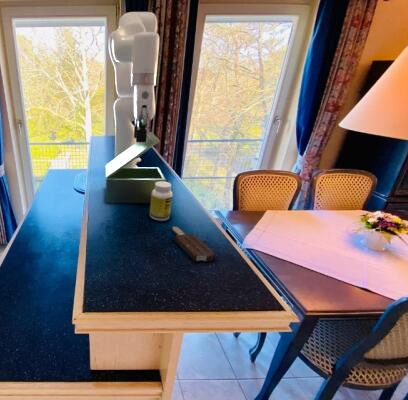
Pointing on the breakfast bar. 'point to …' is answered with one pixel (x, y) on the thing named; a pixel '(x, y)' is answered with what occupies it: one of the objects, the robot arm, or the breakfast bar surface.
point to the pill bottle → (161, 201)
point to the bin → (132, 185)
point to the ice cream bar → (193, 246)
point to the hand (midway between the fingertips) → (139, 139)
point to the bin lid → (130, 155)
